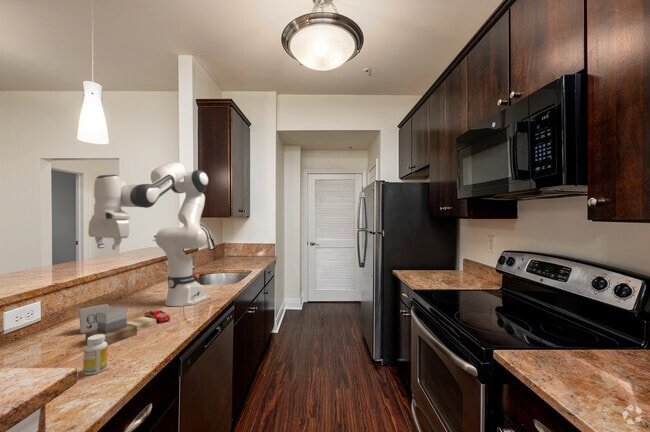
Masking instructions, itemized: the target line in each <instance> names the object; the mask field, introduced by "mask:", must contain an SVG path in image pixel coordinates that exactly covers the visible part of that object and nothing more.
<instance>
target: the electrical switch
mask: <svg viewBox="0 0 650 432" xmlns="http://www.w3.org/2000/svg"><path fill="white" fill-rule="evenodd" d="M107 309H110V305H109V304H108V303H105V304H104V303H103V304H98V305H94V306H88V307H82V308H79V309H78V314H79V333H80V334H81V335H82V334H86V332H89V331H92V330H95V329H97V325H98V312H100V311H104V310H107ZM88 326H89V327H88Z"/></svg>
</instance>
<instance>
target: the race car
mask: <svg viewBox="0 0 650 432" xmlns="http://www.w3.org/2000/svg"><path fill="white" fill-rule="evenodd" d="M143 317H148V318H153V319H156V324H161V323H166V322H169V321H170V320H171V316H170V315H169V314H167V313H166V311H163V310H162V309H151V310H148V311H146V312H144V316H143Z"/></svg>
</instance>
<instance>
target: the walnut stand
mask: <svg viewBox="0 0 650 432" xmlns="http://www.w3.org/2000/svg"><path fill="white" fill-rule="evenodd" d="M98 334H104V333H101V332H97V329H95V330H92V331H89V332H86V333H85V340H84V341H85V342H87V339H88V337H90V336H93V335H98ZM137 334H138V331H137V327H136V326H132V325H128V324H127V325H126V327H125V328H122V329H119V330H116V331H113V332H110V333H107V334H104V335H105V340H104V341H105V342H107V344H108V346H110V345H112V344H115V343H118V342H121V341H123V340H127V339H128V338H131V337H134V336H137Z"/></svg>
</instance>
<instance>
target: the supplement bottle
mask: <svg viewBox="0 0 650 432" xmlns="http://www.w3.org/2000/svg"><path fill="white" fill-rule="evenodd" d="M104 340H105V335H104V334H98V335H93V336H90V337H88V339H87V341H86V345H85V346H84V348H83V364H82V365H83V366H82V367H83V369H82V371H83V374H84V375H85V376H86V375H87V376H91V375H95V374H99V373H102V372H103V371H105V370H106V369H107V367H108V346H109V345H108V344H107V342H105V341H104Z"/></svg>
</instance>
